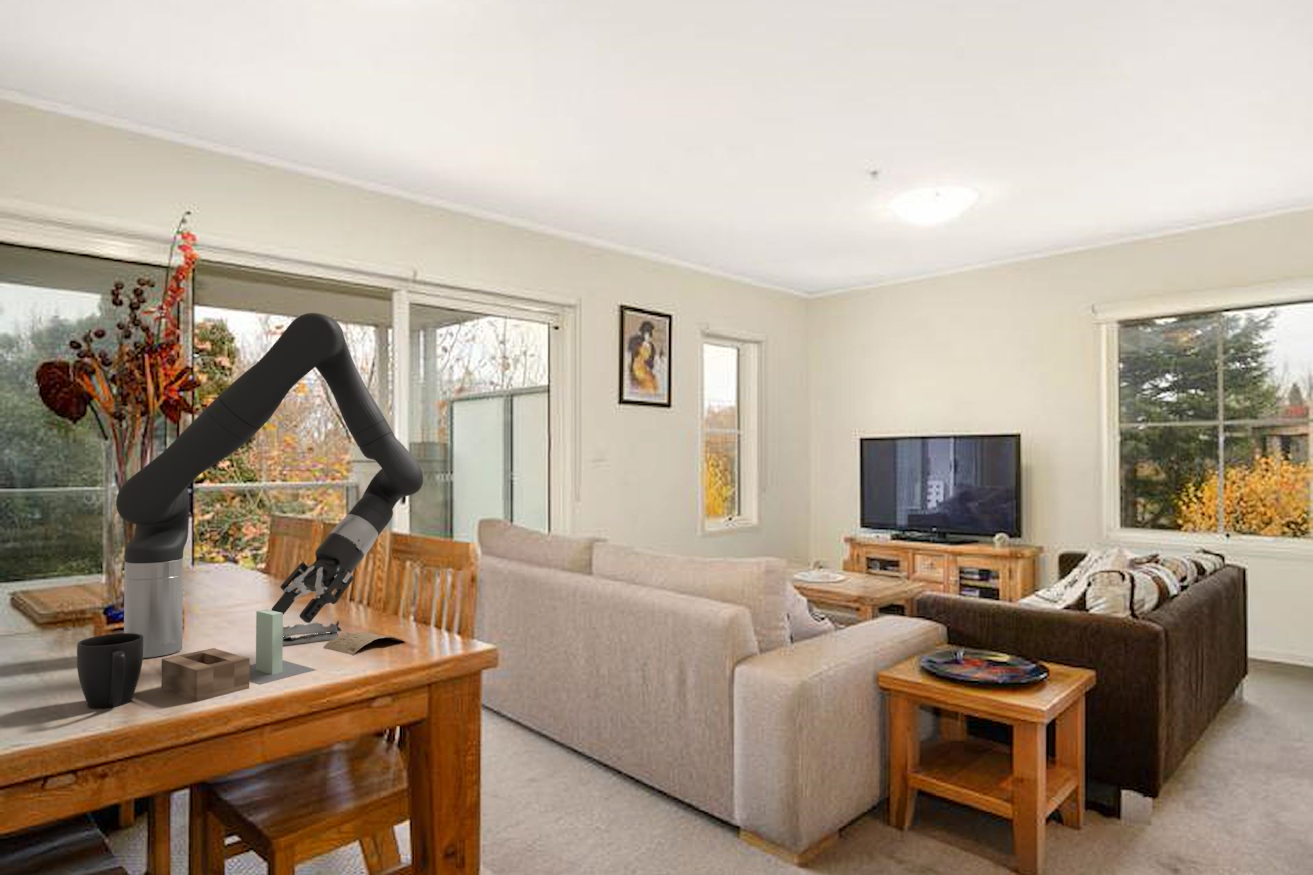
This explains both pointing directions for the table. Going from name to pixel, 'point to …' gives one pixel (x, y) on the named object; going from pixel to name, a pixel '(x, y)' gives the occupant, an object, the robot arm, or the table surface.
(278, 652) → the tall mint green block
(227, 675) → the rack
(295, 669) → the mat
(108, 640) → the mug
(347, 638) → the brown curved sheet
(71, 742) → the table surface
